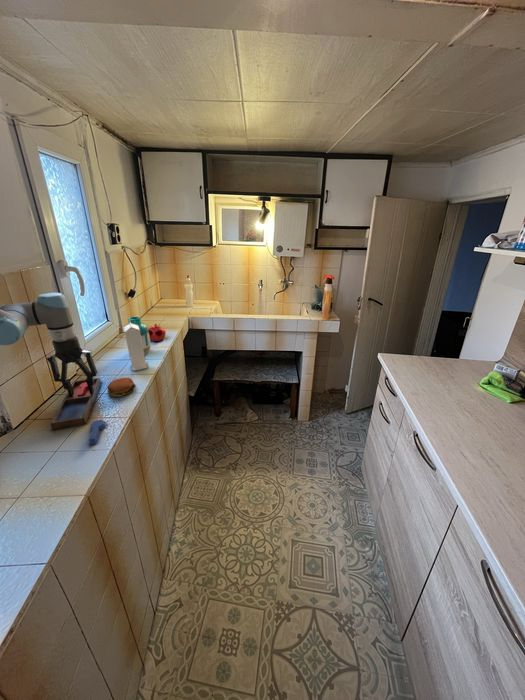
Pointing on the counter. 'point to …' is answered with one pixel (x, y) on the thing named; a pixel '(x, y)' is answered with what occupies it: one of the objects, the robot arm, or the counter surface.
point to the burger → (121, 387)
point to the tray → (75, 406)
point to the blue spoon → (96, 430)
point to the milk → (135, 347)
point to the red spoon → (83, 389)
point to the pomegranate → (156, 333)
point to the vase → (142, 332)
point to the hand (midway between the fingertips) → (82, 393)
